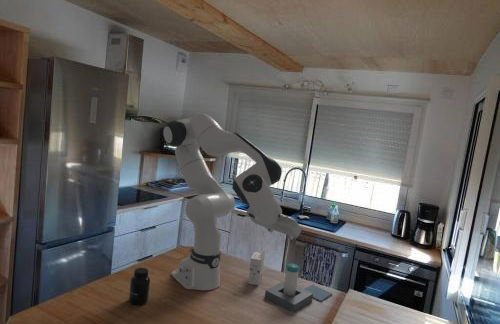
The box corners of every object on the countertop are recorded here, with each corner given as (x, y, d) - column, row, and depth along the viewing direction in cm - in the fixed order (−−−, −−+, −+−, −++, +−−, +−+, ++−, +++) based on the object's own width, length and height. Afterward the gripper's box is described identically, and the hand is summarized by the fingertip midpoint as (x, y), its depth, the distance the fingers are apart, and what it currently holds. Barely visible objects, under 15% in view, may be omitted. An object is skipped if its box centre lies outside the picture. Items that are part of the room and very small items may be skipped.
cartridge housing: (264, 297, 139) (265, 290, 139) (284, 287, 150) (285, 280, 149) (293, 312, 130) (294, 304, 130) (312, 300, 141) (313, 293, 140)
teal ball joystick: (280, 298, 139) (284, 265, 138) (287, 294, 143) (291, 262, 142) (290, 303, 136) (294, 269, 135) (297, 299, 140) (301, 266, 139)
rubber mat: (300, 292, 147) (300, 290, 146) (312, 285, 154) (312, 284, 154) (320, 301, 140) (321, 300, 140) (332, 294, 148) (332, 293, 148)
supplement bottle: (127, 306, 121) (130, 274, 120) (129, 297, 127) (131, 266, 126) (148, 306, 123) (150, 274, 121) (148, 296, 129) (151, 266, 128)
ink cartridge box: (251, 275, 157) (255, 245, 156) (261, 277, 156) (265, 247, 155) (247, 283, 149) (251, 251, 147) (258, 286, 148) (262, 253, 146)
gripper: (297, 212, 114) (309, 235, 123) (251, 198, 127) (264, 220, 136) (288, 227, 111) (300, 249, 120) (242, 211, 125) (256, 233, 133)
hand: (281, 234), depth 128 cm, fingers open, 8 cm apart
